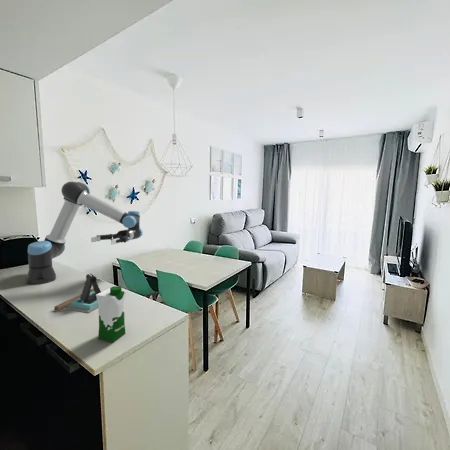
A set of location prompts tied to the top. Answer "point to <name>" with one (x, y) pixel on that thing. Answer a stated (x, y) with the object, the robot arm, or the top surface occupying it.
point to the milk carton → (111, 314)
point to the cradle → (84, 305)
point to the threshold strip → (68, 302)
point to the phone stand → (87, 287)
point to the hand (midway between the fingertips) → (101, 241)
